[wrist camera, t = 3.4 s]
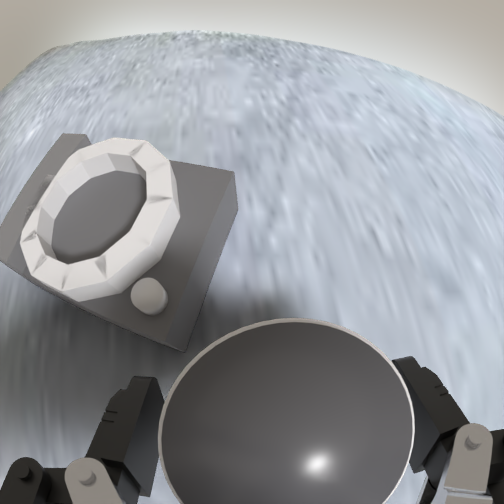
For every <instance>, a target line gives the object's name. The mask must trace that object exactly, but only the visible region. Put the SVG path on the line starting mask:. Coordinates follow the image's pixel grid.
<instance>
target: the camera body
mask: <svg viewBox="0 0 504 504" xmlns="http://www.w3.org/2000/svg"><path fill="white" fill-rule="evenodd" d="M237 211H238V203H237V194H236V185H235V175H234V172H233V171H228V170H223V169H217V168H212V167H206V166H201V165H195V164H189V163H183V162H177V161H171V160H168V159H167V158H165V157H164V156H163V155H162V154H161V153H160V152H159V151H158V150H156V149H155V148H154V147H153V146H152V145H151V144H150V143H149V142H148V141H145V140H135V139H125V138H111V139H108V140H105V141H102V142H99V143H96V144H93V145H92V144H91V143H90V141H89V139H88V137H87V135H86V134H64V133H63V134H62V135H61V136H60V137H59V139H58V140H57V141H56V142H55V144H54V145H53V146H52V148H51V149H50V150H49V151H48V153H47V154H46V155H45V157H44V158H43V160H42V161H41V162H40V164H39V165H38V167H37V168H36V169H35V171H34V172H33V174H32V175H31V177H30V178H29V180H28V181H27V183H26V184H25V186H24V187H23V189H22V190H21V192H20V194H19V195H18V197H17V198H16V200H15V202H14V203H13V205H12V207H11V208H10V210H9V212H8V214H7V215H6V217H5V219H4V221H3V222H2V224H1V226H0V261H1V262H2V263H4V264H5V265H7V266H8V267H9V268H11V269H12V270H14V271H15V272H17V273H18V274H20V275H21V276H23V277H24V278H26V279H27V280H29V281H30V282H32V283H33V284H35V285H37V286H39V287H40V288H42V289H44V290H46V291H48V292H49V293H51V294H53V295H55V296H57V297H59V298H61V299H63V300H65V301H67V302H69V303H70V304H72V305H74V306H76V307H78V308H81V309H83V310H85V311H87V312H89V313H91V314H93V315H95V316H97V317H99V318H101V319H104V320H106V321H108V322H110V323H112V324H115V325H117V326H119V327H122V328H124V329H126V330H128V331H131V332H133V333H136V334H138V335H140V336H143V337H145V338H148V339H150V340H153V341H155V342H158V343H160V344H163V345H166V346H168V347H171V348H174V349H176V350H179V351H182V352H184V353H185V351H186V348H187V346H188V343H189V340H190V337H191V334H192V332H193V329H194V326H195V323H196V320H197V318H198V315H199V312H200V309H201V307H202V304H203V301H204V298H205V296H206V293H207V290H208V287H209V285H210V282H211V279H212V277H213V274H214V271H215V269H216V266H217V263H218V261H219V258H220V255H221V253H222V250H223V247H224V245H225V242H226V240H227V237H228V234H229V232H230V229H231V227H232V224H233V221H234V219H235V216H236V214H237Z"/></svg>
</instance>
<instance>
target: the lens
mask: <svg viewBox="0 0 504 504" xmlns="http://www.w3.org/2000/svg"><path fill="white" fill-rule="evenodd" d="M414 432H415V425H414V412H413V406H412V401H411V398H410V395H409V392H408V389H407V387H406V385H405V383H404V381H403V379H402V377H401V375H400V373H399V372H398V370H397V369H396V367H395V366H394V364H393V363H392V362H391V361H390V360H389V358H388V357H387V356H386V355H385V354H384V353H383V352H382V351H381V350H380V349H379V348H377V347H376V346H375V345H374V344H373V343H371V342H370V341H368V340H367V339H365V338H364V337H362V336H360V335H359V334H357V333H355V332H353V331H351V330H349V329H346V328H344V327H342V326H339V325H335V324H332V323H329V322H325V321H319V320H314V319H304V318H284V319H274V320H268V321H262V322H258V323H255V324H251V325H248V326H245V327H242V328H240V329H238V330H235V331H233V332H231V333H228V334H226V335H225V336H223V337H221V338H220V339H218V340H216V341H214V342H213V343H212V344H210V345H209V346H208V347H206V348H205V349H204V350H202V351H201V352H200V353H199V354H198V355H197V356H196V357H195V358H194V359H193V360H192V361H191V362H189V363H188V365H187V366H186V367H185V368H184V370H183V371H182V372H181V373H180V375H179V376H178V377H177V379H176V381H175V382H174V384H173V386H172V387H171V389H170V391H169V393H168V396H167V398H166V400H165V403H164V405H163V409H162V413H161V417H160V421H159V430H158V451H159V457H160V462H161V467H162V470H163V472H164V475H165V478H166V480H167V483H168V484H169V486H170V488H171V490H172V492H173V494H174V495H175V497H176V498H177V499H178V501H179V502H180V503H181V504H384V503H385V502H386V501H387V500H388V498H389V497H390V496H391V494H392V493H393V492H394V490H395V489H396V488H397V486H398V484H399V482H400V480H401V479H402V477H403V475H404V473H405V470H406V468H407V465H408V463H409V460H410V456H411V452H412V448H413V442H414Z"/></svg>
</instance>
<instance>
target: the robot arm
mask: <svg viewBox="0 0 504 504" xmlns="http://www.w3.org/2000/svg"><path fill="white" fill-rule="evenodd" d="M391 362H392V363H393V364H394V366H395V367H396V369H397V370H398V372H399V373H400V375H401V377H402V379H403V381H404V383H405V385H406V387H407V389H408V392H409V395H410V398H411V401H412V406H413V412H414V425H415V432H414V442H413V448H412V452H411V456H410V460H409V463H410V466H411V468H412V470H413V473H414V474H415V473H418V472H420V471H423V470H425V471H426V473H427V476H426V478H425V480H424V483H423V486H422V488H421V491H420V494H419V496H418V499H417V502H416V504H504V429H501V430H495V431H489V430H488V429H487V428H486V427H484V426H483V425H480V424H476V423H471V424H470V423H469V421H468V420H467V418H466V417H465V415H464V414H463V412H462V411H461V409H460V408H459V406H458V405H457V403H456V402H455V400H454V399H453V398H452V396H451V395H450V394H448V390H447V389H446V388H445V386H443V383H442V382H441V380H440V379H439V378H438V376H437V375H436V374H435V373H433V372H432V371H431V370H429V369H428V368H426V367H422V368H421V367H420V365H419V364H418V363H417V361H416V360H415V358H414V357H412V356H409V357H404V358H399V359H395V360H392V361H391ZM164 403H165V402H164V399H163V396H162V393H161V390H160V387H159V384H158V381H157V379H156V378H155V377H139V376H134V377H133V378H132V379H131V382H130V384H129V386H128V389H127V390H121V389H120V390H119V391H118V392H117V393H116V394H115V395H114V396H113V397H112V398H111V399H110V401H109V403H108V406H107V408H106V412H104V415H103V417H102V421H101V422H100V424H99V426H98V428H97V431H96V433H95V435H94V438H93V440H92V442H91V445H90V447H89V449H88V452H87V454H86V456H85V457H84V458H80V459H77V460H75V461H73V462H72V463H71V464H70V465H69V466H68V467H67V468H43V467H42V466H41V465H40V464H39V463H38V462H37V461H36V460H35V459H32V458H29V457H23V458H20V459H18V460H16V461H15V462H14V463H13V464H12V465H11V467H10V469H9V471H8V473H7V476H6V478H5V480H4V483H3V485H2V487H1V490H0V504H137V502H138V498H139V495H140V496H146V497H150V495H151V490H152V485H153V481H154V476H155V472H156V467H157V463H158V458H159V451H158V430H159V421H160V417H161V413H162V409H163V405H164Z"/></svg>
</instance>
